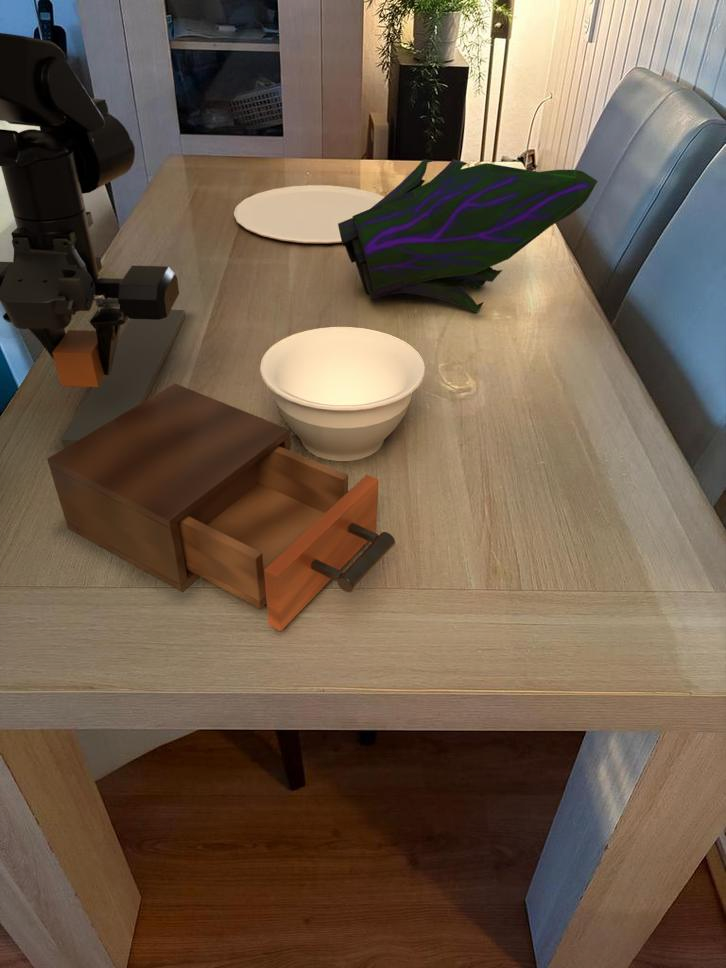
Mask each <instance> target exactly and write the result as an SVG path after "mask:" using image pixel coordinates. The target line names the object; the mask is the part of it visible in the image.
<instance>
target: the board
mask: <svg viewBox="0 0 726 968" xmlns="http://www.w3.org/2000/svg"><path fill="white" fill-rule="evenodd" d="M185 319H186V310H185V309H171V310H170V312H169V314H168V316H167V317H166V318H163V319H160V320H153V319H131V321H130V323H129V325H128V326H127V328H126V330H125V331H124V332H123V335H122V337H121V338H120V340H119V341H118V342H117V345H116V350H115V355H114V359H113V364H112V369H111V372H110V374H109V375H105V377H104V378H103V380H102V382H101V384H100V385H99V387H91V389H90V390H89V392H88V394H87V395H86V397H85V398H84V401H83V402H82V404H81V405H80V407H79V409H78V410H77V412H76V414H75V416H74V417H73V418H72V421H71V422H70V424H69V425H68V427H67V429H66V431H65V432H64V434H63V436H62V437H61V444H62V448H66V447H67V446H69V445H71V444H73V443H74V442H76V441H78V440H79V439H81V438H83V437H84V436H86V435H88V434H90V433H91V432H93V431H95V430H96V429H98V428H100V427H101V426H103V425H105V424H107V423H108V422H110V421H112V420H113V419H115V418H117V417H118V416H120V415H122V414H124V413H125V412H127V411H129V410H130V409H132V408H134V407H135V406H137V405H139V404H141V403H142V402H144V401H146V400H147V399H148V398H149V395H150V394H151V390H153V389H152V388H153V387H154V384H155V382H156V380H157V378H158V376H159V374H160V371H161V369H162V368H163V365H164V363H165V361H166V359H167V357H168V354H169V352H170V350H171V348H172V346H173V344H174V342H175V340H176V338H177V336H178V333H179V331H180V329H181V327H182V325H183V323H184V321H185Z"/></svg>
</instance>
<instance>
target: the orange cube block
mask: <svg viewBox="0 0 726 968" xmlns="http://www.w3.org/2000/svg"><path fill="white" fill-rule="evenodd" d="M52 354H53V358H54V360H53V361H54V365H55V368H56V369H55V370H56V373H57V377H58V380H59V384H60V386H61V387H74V388H75V387H77V388H92V387H99V385H100V384H101V382H102V380H103V378H104V377H105V375H104V372H103V368H102V365H101V362H100V355H99V348H98V341H97V334H96V330H83V329H82V330H81V329H79V330H78V329H68V330H67V332H65V336H64V337H63V338H62V340H61V341H60V343H59V344H58V345H57V347H56V348H55V350H54V351H53V352H52ZM53 358H52V359H53Z"/></svg>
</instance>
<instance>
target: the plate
mask: <svg viewBox="0 0 726 968" xmlns="http://www.w3.org/2000/svg"><path fill="white" fill-rule="evenodd" d="M384 197H385V196H384V195H382V194H379V193H376V192H372V191H369V190H365V189H361V188H360V189H359V188H354V187H350V186H349V187H348V186H339V185H325V184H321V185H320V184H319V185H318V184H308V185H293V186H284V187H278V188H273V189H269V190H265V191H261V192H258V193H255V194H253V195H251V196H248V197H246V198H245V199H243V200H242V201H241V202H239V203H238V204H237V205H236V206H235V209H234V211H233V217H234V218H235V220H236V223H237V224H239V225H240V226H241V227H243V228H244V229H245V230H247V231H249V232H251V233H254V234H256V235H258V236H262V237H265V238H269V239H273V240H277V241H283V242H291V243H300V244H327V245H328V244H340V243H342V240H341V236H340V232H339V227H338V223H341V222H343V221H346V220H348V219H351V218H353V217H352V216H354V215H357V214H359V213H361V212H364V211H366V210H369V209H370V208H372V207H373V206H374V205H375V204H377V203H378V202H379V201H380V200H382V199H383V198H384Z"/></svg>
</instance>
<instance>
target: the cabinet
mask: <svg viewBox="0 0 726 968" xmlns="http://www.w3.org/2000/svg"><path fill="white" fill-rule="evenodd" d="M277 446H280V447H282V448H285V449H287V450H289V451H292V449H291V429H290V428H288V427H285V426H282V425H280V424H277V423H275V422H273V421H270V420H267V419H265V418H262V417H259V416H258V415H255V414H252V413H250V412H247V411H245V410H242V409H240V408H238V407H235V406H232V405H230V404H228V403H226V402H223V401H220V400H218V399H215V398H212V397H210V396H208V395H205V394H202V393H200V392H198V391H195V390H193V389H190V388H187V387H185V386H182V385H181V384H178V383H173V384H171V385H169V386H168V387H166V388H164V389H163V390H161V391H159V392H158V393H156V394H154V395H152V396H150V397H148V398H147V399H146V401H144V402H142V403H141V404H139V405H137V406H135V407H134V408H132V409H130V410H129V411H127V412H125V413H124V414H122V415H120V416H118V417H117V418H115V419H113V420H112V421H110V422H108V423H107V424H105V425H103V426H101V427H100V428H98V429H96V430H95V431H93V432H91V433H90V434H88V435H86V436H84V437H83V438H81V439H79V440H78V441H76V442H74V443H73V444H71V445H69V446H67V447H63V448H62V449H60V450H59V451H57V452H55V453H54V454H52V455H51V456H49V457H47V458H46V461H47V463H48V467H49V470H50V474H51V477H52V479H53V483H54V487H55V490H56V493H57V496H58V501H59V504H60V507H61V510H62V514H63V517H64V520H65V523H66V527H67V529H69V530H70V531H72V532H74V533H75V534H77V535H79V536H81V537H83V538H84V539H86V540H88V541H90V542H92V543H94V544H95V545H97V546H99V547H101V548H103V550H106V551H108V552H110V553H112V554H113V555H115V556H117V557H119V558H120V559H122V560H124V561H125V562H128V563H129V564H131V565H133V566H135V567H137V568H139V569H140V570H141V571H144V572H146V573H147V574H149V575H150V576H153V577H154V578H156V579H158V580H160V581H162V582H163V583H165V584H167V585H169V586H171V587H172V588H174V589H176V590H178V591H179V592H181V593H182V592H184V591H186V589H188V588H189V587H190V586H191V585H192V584H194V583H195V582H196V581H197V580H198V579H199V578H201V577H200V576H199V575H197V574H195V573H193V572H191V571H189V570H187V569H186V567H185V561H184V556H183V550H182V544H181V539H180V533H179V527H178V522H179V521H181V520H182V519H183V518H185V517H186V516H187V515H188V514H190V513H191V512H192V511H194V510H195V509H196V508H198V507H199V506H200V505H201V504H203V503H204V502H205V501H207V500H208V499H209V498H211V497H212V496H213V495H215V494H216V493H217V492H218V491H220V490H221V489H222V488H224V487H225V486H226V485H228V484H229V483H230V482H231V481H233V480H234V479H235V478H237V477H238V476H239V475H241V474H242V473H243V472H245V471H246V470H247V469H248V468H250V467H251V466H252V465H254V464H255V463H256V462H258V461H259V460H260V459H261V458H263V457H264V456H265V455H267V454H268V453H269V452H271V451H272V450H273V449H275V448H276V447H277Z"/></svg>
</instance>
